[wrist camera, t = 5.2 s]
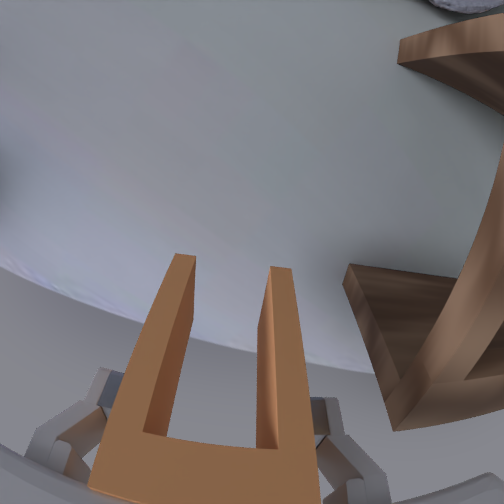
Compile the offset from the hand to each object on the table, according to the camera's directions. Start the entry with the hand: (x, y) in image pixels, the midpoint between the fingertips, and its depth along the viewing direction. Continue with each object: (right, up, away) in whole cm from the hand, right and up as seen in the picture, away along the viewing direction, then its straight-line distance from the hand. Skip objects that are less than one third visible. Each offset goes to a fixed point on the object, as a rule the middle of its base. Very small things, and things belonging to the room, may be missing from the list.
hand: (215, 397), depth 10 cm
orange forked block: (0, +3, +5) cm, 6 cm away
